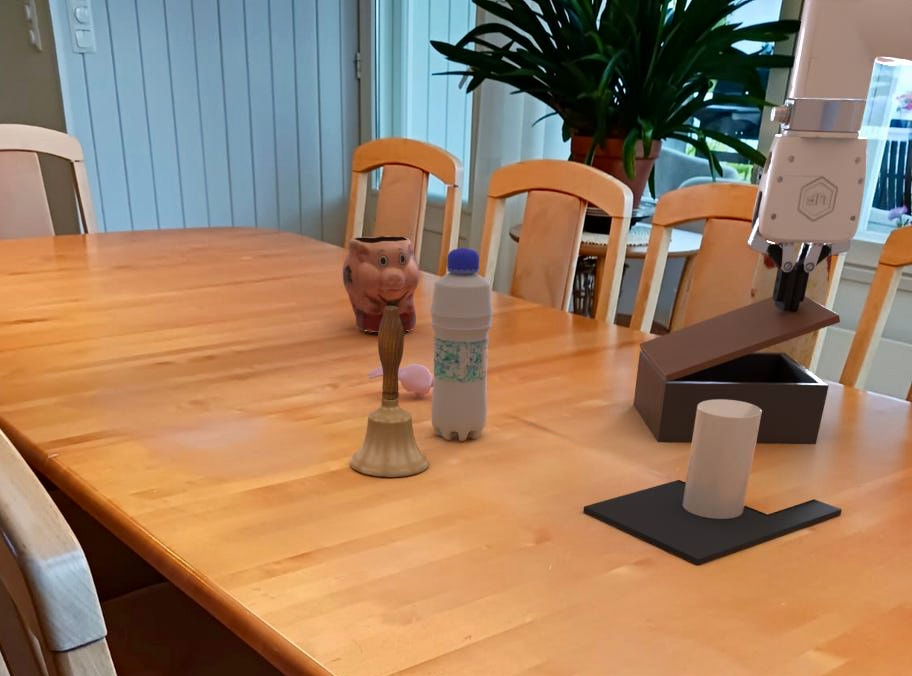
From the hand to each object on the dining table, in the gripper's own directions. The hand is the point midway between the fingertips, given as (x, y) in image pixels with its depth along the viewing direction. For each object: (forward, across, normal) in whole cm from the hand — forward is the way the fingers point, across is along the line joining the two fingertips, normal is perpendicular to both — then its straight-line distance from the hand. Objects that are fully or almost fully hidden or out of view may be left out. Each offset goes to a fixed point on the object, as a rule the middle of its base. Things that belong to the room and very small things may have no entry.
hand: (786, 308), depth 107 cm
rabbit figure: (+14, -40, +13) cm, 44 cm away
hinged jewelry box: (+14, -5, 0) cm, 15 cm away
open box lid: (+3, -5, 0) cm, 6 cm away
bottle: (+14, -36, -3) cm, 39 cm away
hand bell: (+14, -43, -13) cm, 48 cm away
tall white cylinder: (+13, -13, -26) cm, 32 cm away
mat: (+14, -13, -26) cm, 32 cm away
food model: (+14, +7, +19) cm, 25 cm away
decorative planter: (+14, -47, +53) cm, 72 cm away
